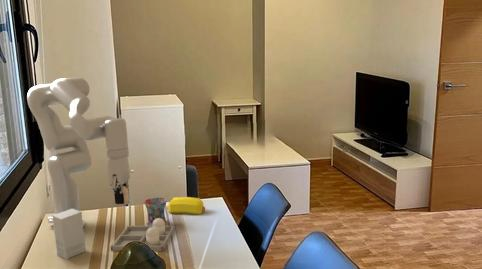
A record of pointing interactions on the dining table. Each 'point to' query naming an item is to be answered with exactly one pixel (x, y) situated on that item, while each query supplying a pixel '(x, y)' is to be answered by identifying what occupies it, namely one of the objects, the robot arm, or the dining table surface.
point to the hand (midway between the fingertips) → (122, 200)
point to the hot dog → (186, 205)
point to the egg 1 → (126, 196)
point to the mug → (155, 209)
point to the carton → (141, 237)
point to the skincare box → (69, 233)
